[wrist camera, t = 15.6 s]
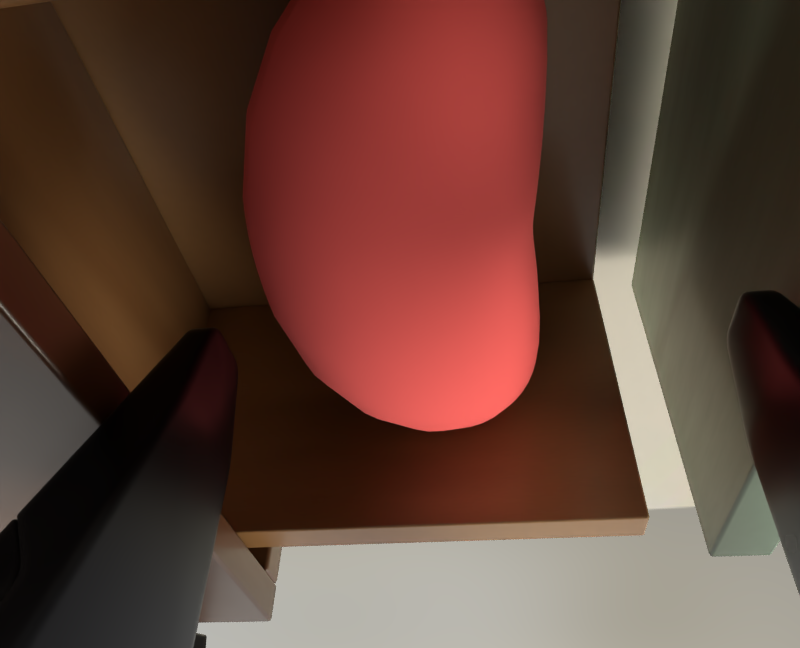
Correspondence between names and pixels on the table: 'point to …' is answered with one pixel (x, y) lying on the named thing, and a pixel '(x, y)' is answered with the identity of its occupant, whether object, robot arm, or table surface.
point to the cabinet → (86, 425)
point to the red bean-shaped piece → (402, 199)
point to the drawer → (554, 248)
